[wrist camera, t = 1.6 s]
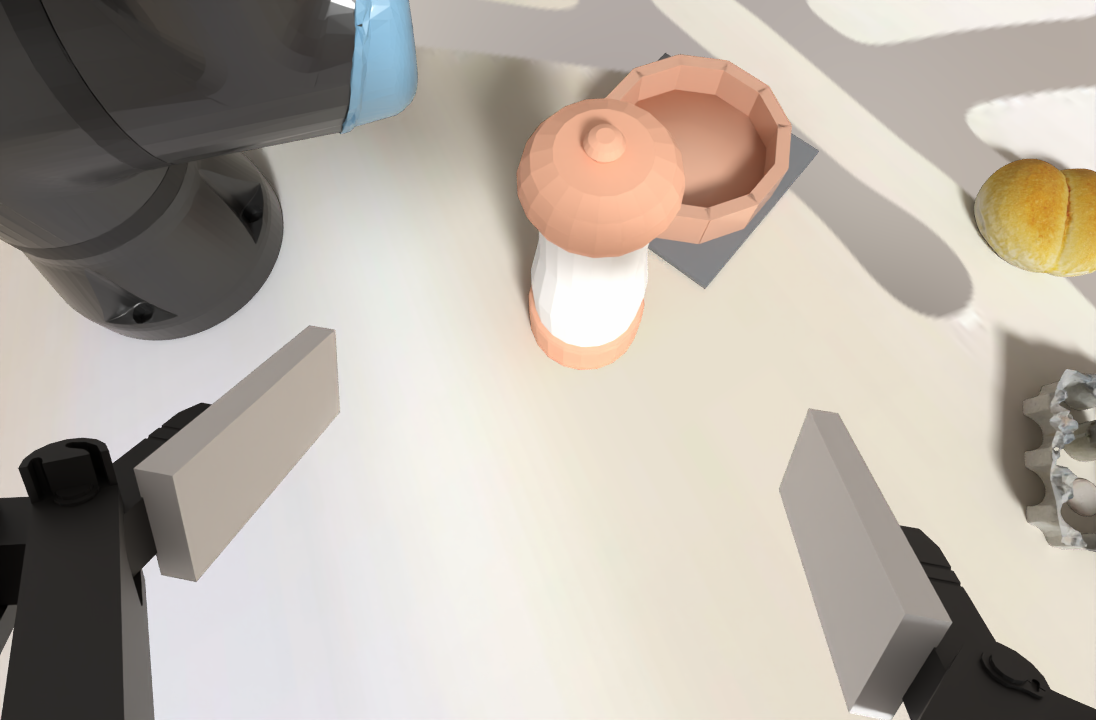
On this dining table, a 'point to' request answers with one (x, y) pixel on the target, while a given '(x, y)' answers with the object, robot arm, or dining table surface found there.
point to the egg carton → (1078, 443)
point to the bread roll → (1040, 217)
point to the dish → (714, 139)
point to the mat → (714, 254)
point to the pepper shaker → (595, 224)
